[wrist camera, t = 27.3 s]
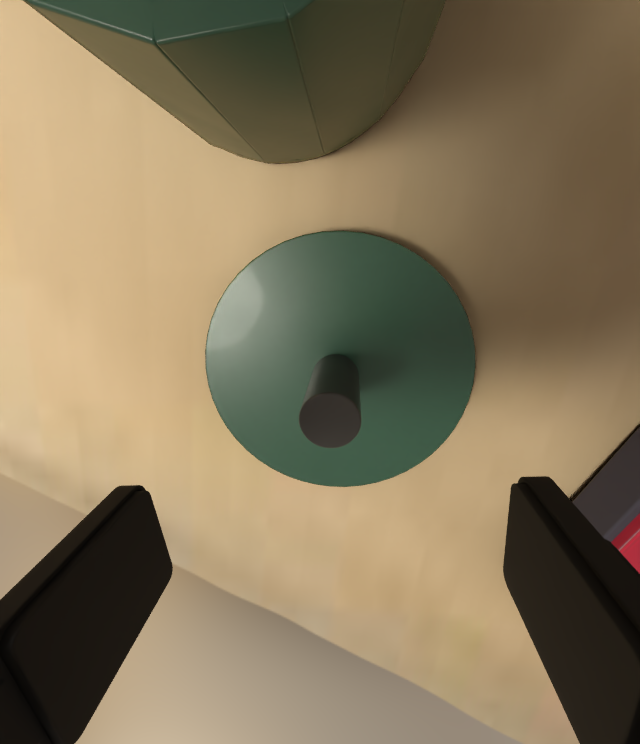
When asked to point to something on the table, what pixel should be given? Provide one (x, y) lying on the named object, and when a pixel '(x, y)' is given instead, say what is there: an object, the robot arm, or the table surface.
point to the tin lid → (340, 358)
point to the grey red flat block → (617, 500)
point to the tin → (259, 64)
